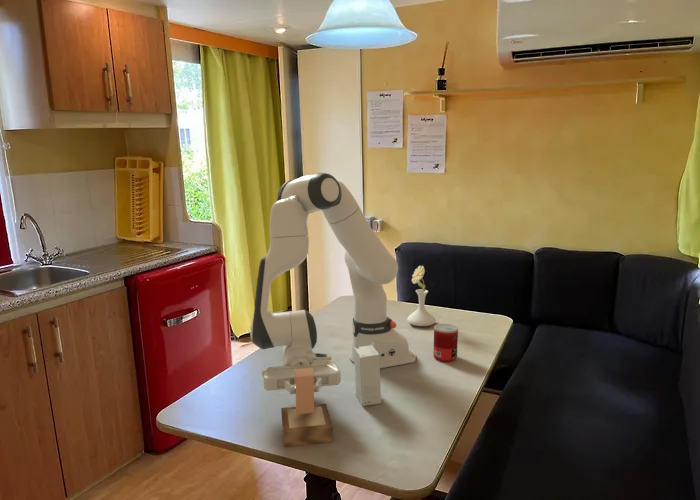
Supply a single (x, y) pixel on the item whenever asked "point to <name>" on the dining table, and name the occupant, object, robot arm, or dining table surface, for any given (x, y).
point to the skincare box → (367, 375)
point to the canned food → (445, 342)
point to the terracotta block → (304, 390)
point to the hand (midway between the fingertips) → (304, 390)
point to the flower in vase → (420, 302)
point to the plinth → (306, 426)
